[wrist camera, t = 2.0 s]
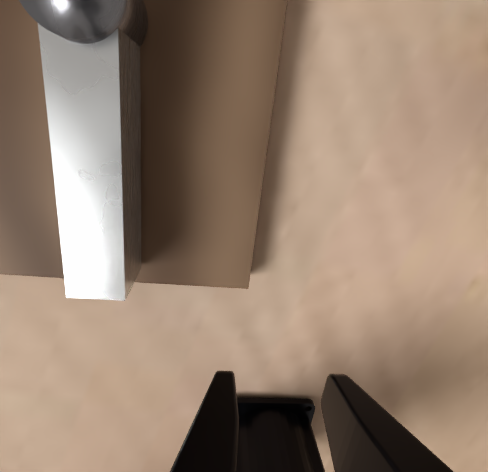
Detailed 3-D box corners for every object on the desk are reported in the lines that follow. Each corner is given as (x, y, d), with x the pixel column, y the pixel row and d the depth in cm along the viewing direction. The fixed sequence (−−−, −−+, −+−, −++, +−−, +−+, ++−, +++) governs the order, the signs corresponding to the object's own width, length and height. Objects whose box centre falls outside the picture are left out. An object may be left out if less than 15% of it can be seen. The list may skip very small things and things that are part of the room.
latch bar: (64, -38, 11) (-3, -106, 8) (148, -24, 12) (118, -83, 8) (87, 265, 16) (50, 306, 12) (147, 269, 16) (127, 310, 13)
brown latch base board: (297, -118, 12) (341, -246, 8) (245, 275, 19) (254, 324, 14) (-366, -261, 10) (-831, -563, 5) (-167, 249, 16) (-309, 298, 12)
